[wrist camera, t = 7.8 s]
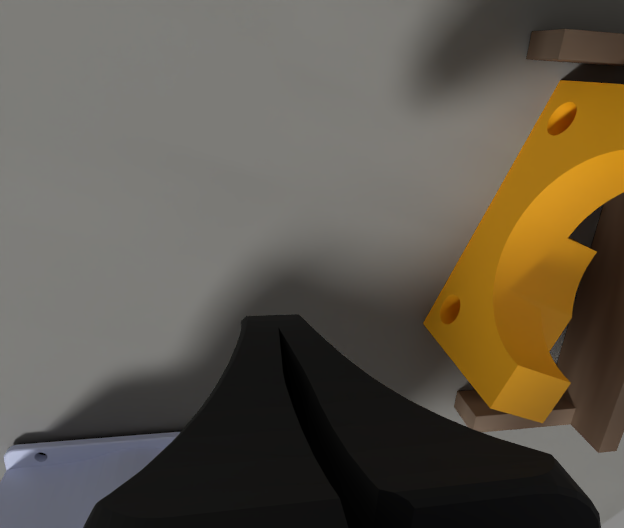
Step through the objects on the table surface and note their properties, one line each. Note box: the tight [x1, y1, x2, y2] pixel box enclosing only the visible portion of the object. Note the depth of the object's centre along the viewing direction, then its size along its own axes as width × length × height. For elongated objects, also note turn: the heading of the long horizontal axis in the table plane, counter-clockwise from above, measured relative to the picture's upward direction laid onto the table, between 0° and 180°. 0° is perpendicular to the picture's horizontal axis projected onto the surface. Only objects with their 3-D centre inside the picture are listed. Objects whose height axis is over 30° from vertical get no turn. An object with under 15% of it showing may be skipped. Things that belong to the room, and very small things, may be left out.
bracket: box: [454, 29, 624, 453], centre depth 21 cm, size 6×18×4 cm, turn 177°
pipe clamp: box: [423, 80, 624, 423], centre depth 20 cm, size 12×4×6 cm, turn 156°
